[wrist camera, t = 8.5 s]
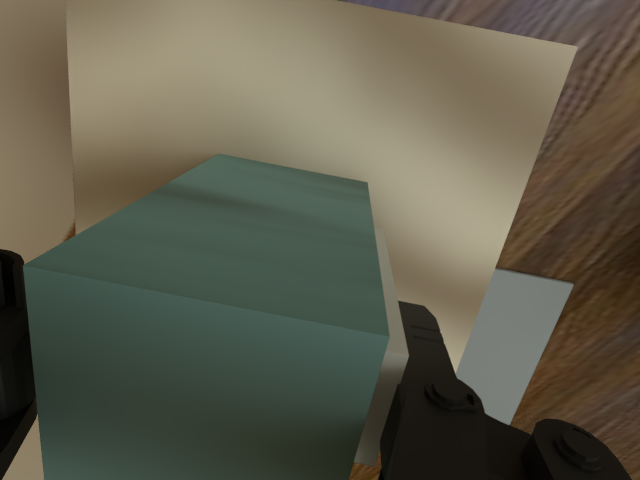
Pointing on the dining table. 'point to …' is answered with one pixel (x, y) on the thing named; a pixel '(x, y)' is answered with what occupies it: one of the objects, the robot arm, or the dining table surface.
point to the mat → (510, 338)
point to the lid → (267, 224)
